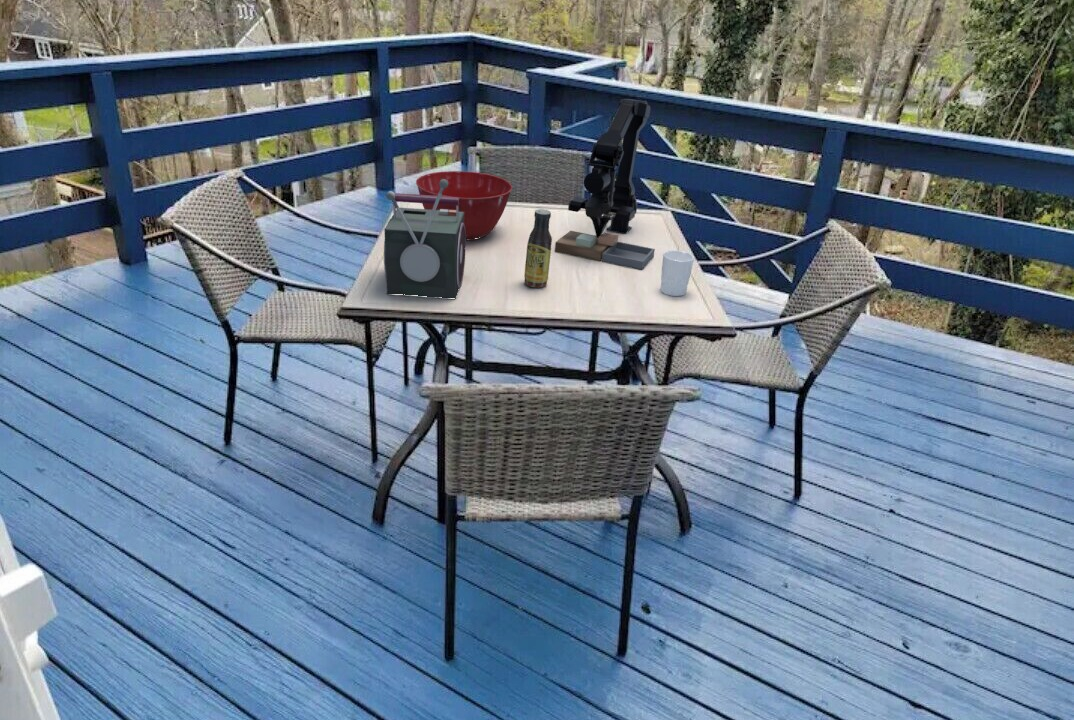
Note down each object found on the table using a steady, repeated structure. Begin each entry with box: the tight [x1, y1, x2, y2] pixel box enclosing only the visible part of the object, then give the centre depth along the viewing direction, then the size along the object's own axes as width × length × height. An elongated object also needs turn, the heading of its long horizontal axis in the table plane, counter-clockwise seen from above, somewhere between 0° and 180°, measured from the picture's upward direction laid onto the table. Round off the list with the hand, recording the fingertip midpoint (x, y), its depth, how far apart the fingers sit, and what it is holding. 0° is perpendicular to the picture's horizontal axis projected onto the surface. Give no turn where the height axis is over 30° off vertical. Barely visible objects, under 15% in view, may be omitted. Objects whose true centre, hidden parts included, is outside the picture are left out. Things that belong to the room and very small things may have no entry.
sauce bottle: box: [524, 208, 553, 289], centre depth 192 cm, size 6×6×20 cm
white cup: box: [659, 249, 695, 297], centre depth 196 cm, size 8×8×10 cm
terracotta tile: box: [598, 231, 619, 246], centre depth 220 cm, size 4×4×2 cm
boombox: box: [383, 179, 467, 300], centre depth 186 cm, size 18×21×30 cm
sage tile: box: [576, 233, 596, 247], centre depth 217 cm, size 4×4×2 cm
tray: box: [601, 241, 656, 271], centre depth 217 cm, size 12×12×2 cm
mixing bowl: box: [415, 170, 513, 241], centre depth 225 cm, size 28×28×15 cm
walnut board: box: [554, 230, 610, 262], centre depth 221 cm, size 12×14×3 cm
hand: (598, 237), depth 221 cm, fingers closed
